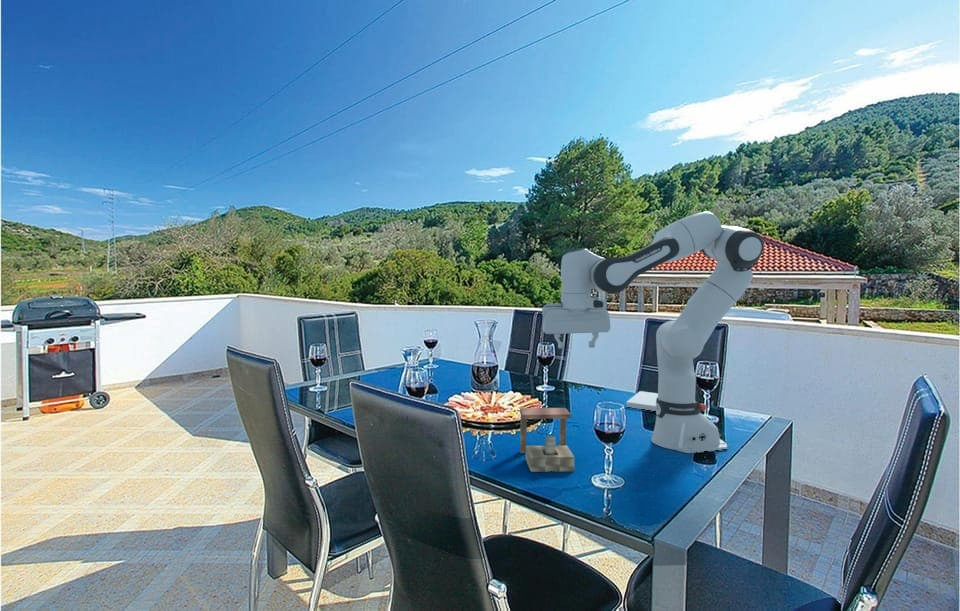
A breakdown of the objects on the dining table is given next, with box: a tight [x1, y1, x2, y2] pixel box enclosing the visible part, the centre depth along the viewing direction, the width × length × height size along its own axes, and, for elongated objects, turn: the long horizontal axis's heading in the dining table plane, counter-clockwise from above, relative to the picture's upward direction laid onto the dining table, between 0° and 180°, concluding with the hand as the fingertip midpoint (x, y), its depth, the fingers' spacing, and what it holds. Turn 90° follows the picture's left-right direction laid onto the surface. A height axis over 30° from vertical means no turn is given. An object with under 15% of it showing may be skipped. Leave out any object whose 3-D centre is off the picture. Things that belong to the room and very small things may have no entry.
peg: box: [544, 435, 557, 455], centre depth 137 cm, size 3×3×8 cm
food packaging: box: [625, 390, 658, 412], centre depth 203 cm, size 15×3×20 cm
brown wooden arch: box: [519, 407, 572, 454], centre depth 145 cm, size 14×7×13 cm, turn 93°
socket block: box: [525, 445, 575, 473], centre depth 138 cm, size 12×9×4 cm
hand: (576, 347), depth 149 cm, fingers open, 8 cm apart
